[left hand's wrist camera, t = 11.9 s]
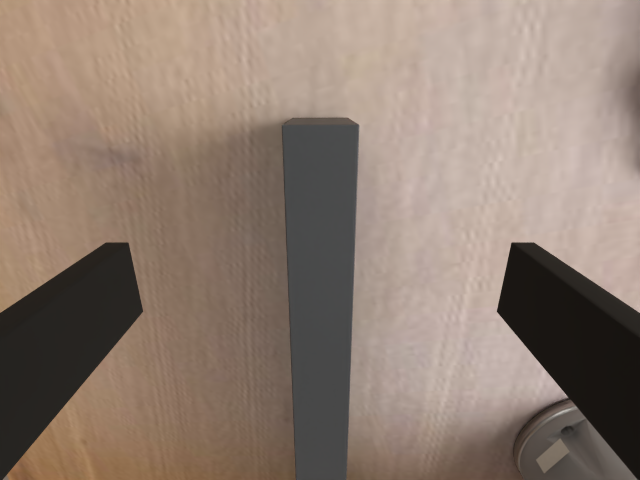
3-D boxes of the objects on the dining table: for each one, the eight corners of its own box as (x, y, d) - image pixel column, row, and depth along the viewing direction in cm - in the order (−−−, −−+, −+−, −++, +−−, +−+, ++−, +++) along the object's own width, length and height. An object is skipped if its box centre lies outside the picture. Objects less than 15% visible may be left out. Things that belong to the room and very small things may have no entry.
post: (292, 117, 30) (281, 124, 21) (348, 117, 30) (359, 124, 21) (304, 523, 49) (301, 608, 41) (338, 523, 49) (341, 608, 41)
